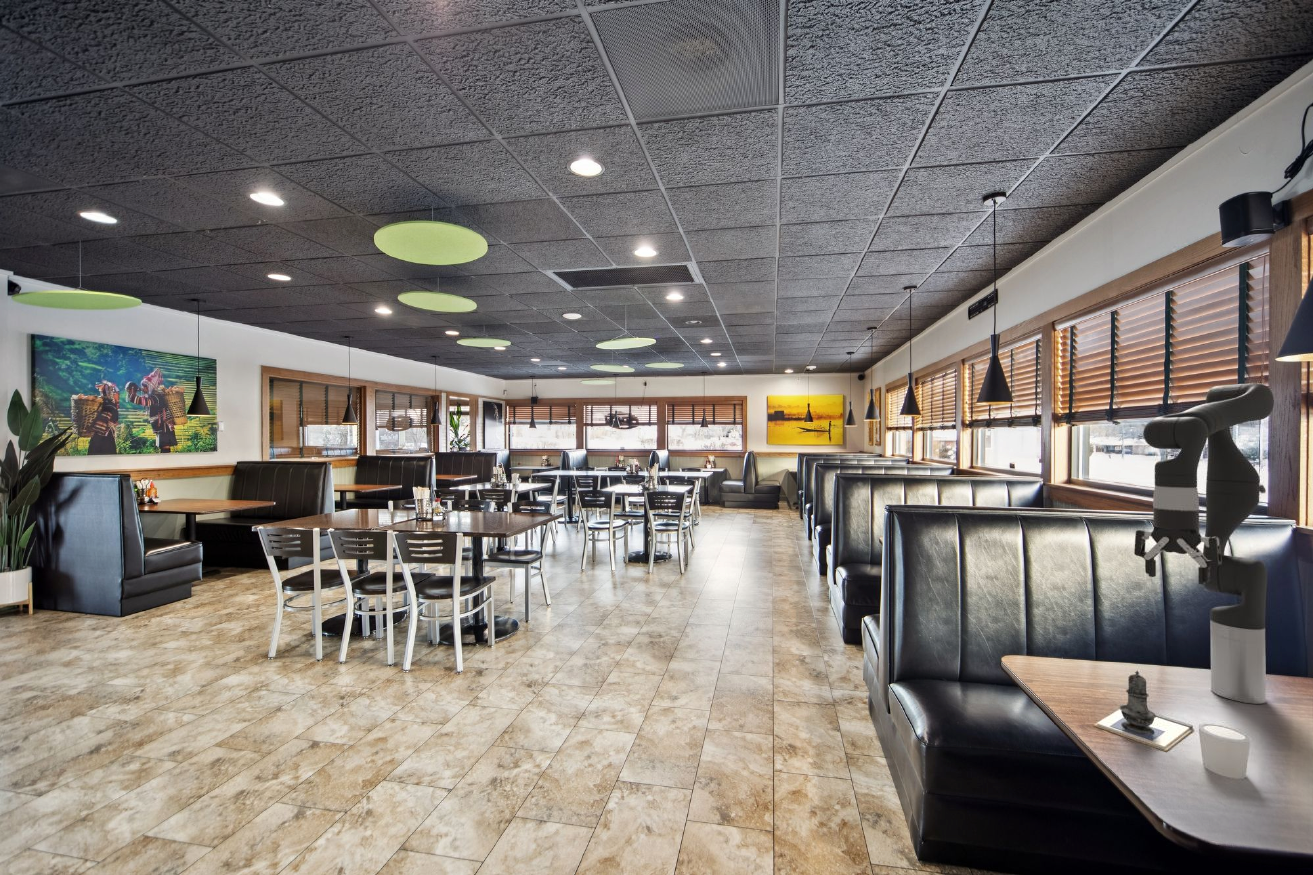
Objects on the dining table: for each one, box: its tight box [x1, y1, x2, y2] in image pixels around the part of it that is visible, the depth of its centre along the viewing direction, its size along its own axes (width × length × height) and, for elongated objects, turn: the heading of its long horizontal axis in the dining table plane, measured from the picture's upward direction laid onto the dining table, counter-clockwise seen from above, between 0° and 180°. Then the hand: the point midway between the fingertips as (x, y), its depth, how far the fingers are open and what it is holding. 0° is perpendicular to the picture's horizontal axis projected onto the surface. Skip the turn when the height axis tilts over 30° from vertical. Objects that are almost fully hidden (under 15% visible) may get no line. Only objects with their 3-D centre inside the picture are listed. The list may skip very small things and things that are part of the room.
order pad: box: [1093, 703, 1195, 752], centre depth 121 cm, size 16×12×1 cm
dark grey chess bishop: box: [1118, 670, 1157, 735], centre depth 119 cm, size 6×6×12 cm
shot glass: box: [1197, 723, 1251, 780], centre depth 106 cm, size 7×7×7 cm
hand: (1176, 580), depth 127 cm, fingers open, 8 cm apart
